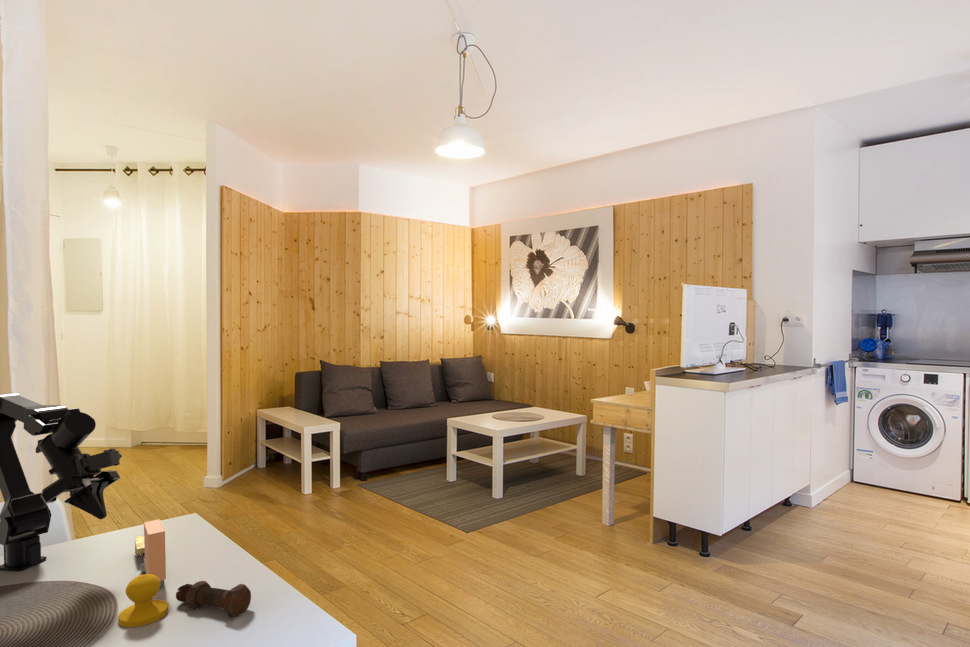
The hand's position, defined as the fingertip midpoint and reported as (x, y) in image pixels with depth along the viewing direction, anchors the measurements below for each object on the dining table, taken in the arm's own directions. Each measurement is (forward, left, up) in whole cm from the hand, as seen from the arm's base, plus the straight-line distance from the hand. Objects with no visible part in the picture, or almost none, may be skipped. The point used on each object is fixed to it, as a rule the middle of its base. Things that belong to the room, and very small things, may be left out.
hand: (103, 517), depth 118 cm
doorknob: (+20, -12, -14) cm, 27 cm away
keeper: (0, +12, -13) cm, 18 cm away
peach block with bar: (+7, +5, -13) cm, 16 cm away
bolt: (+31, -7, -14) cm, 34 cm away
